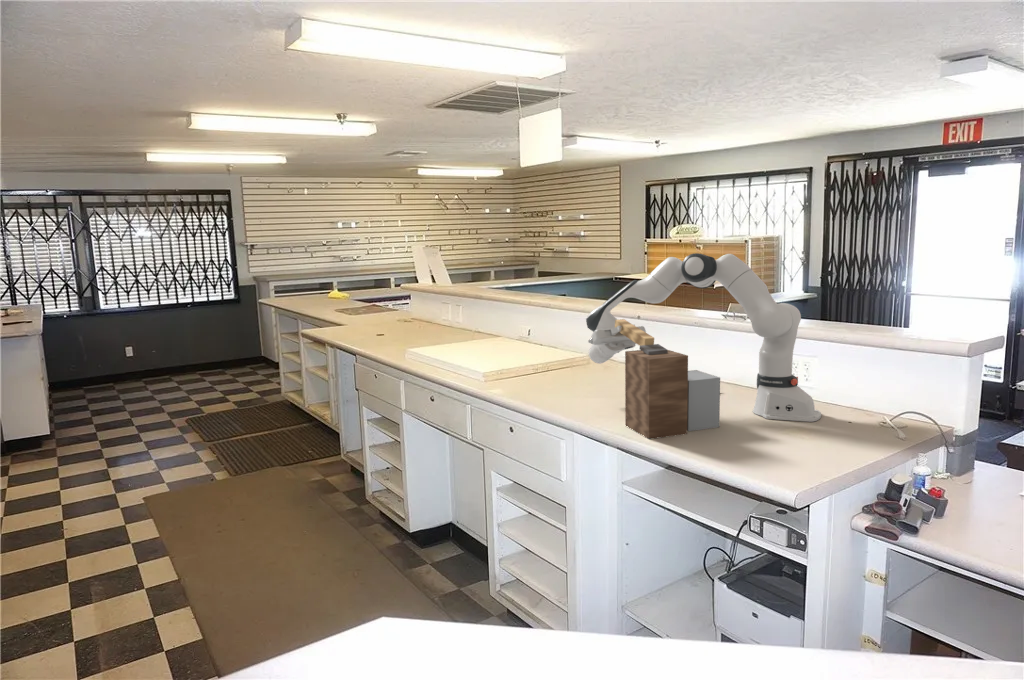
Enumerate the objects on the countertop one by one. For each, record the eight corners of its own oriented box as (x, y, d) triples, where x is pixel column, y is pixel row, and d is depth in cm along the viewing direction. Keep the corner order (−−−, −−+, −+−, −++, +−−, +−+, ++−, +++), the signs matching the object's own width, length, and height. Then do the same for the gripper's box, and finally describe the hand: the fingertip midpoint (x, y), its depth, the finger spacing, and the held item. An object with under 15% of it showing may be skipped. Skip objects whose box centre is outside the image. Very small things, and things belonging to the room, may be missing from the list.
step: (665, 420, 232) (666, 373, 229) (695, 416, 235) (696, 369, 233) (688, 431, 219) (688, 380, 216) (719, 427, 222) (720, 377, 220)
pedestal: (625, 426, 226) (625, 351, 222) (661, 421, 231) (661, 348, 227) (649, 439, 211) (649, 359, 207) (687, 433, 216) (688, 355, 212)
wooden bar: (610, 329, 240) (610, 320, 239) (627, 328, 242) (628, 318, 241) (648, 355, 215) (649, 344, 213) (667, 353, 217) (668, 343, 216)
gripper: (584, 335, 245) (598, 320, 232) (634, 331, 251) (650, 317, 239) (588, 351, 243) (602, 337, 230) (638, 347, 249) (654, 333, 237)
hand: (627, 326), depth 234 cm, fingers closed on wooden bar, 3 cm apart
